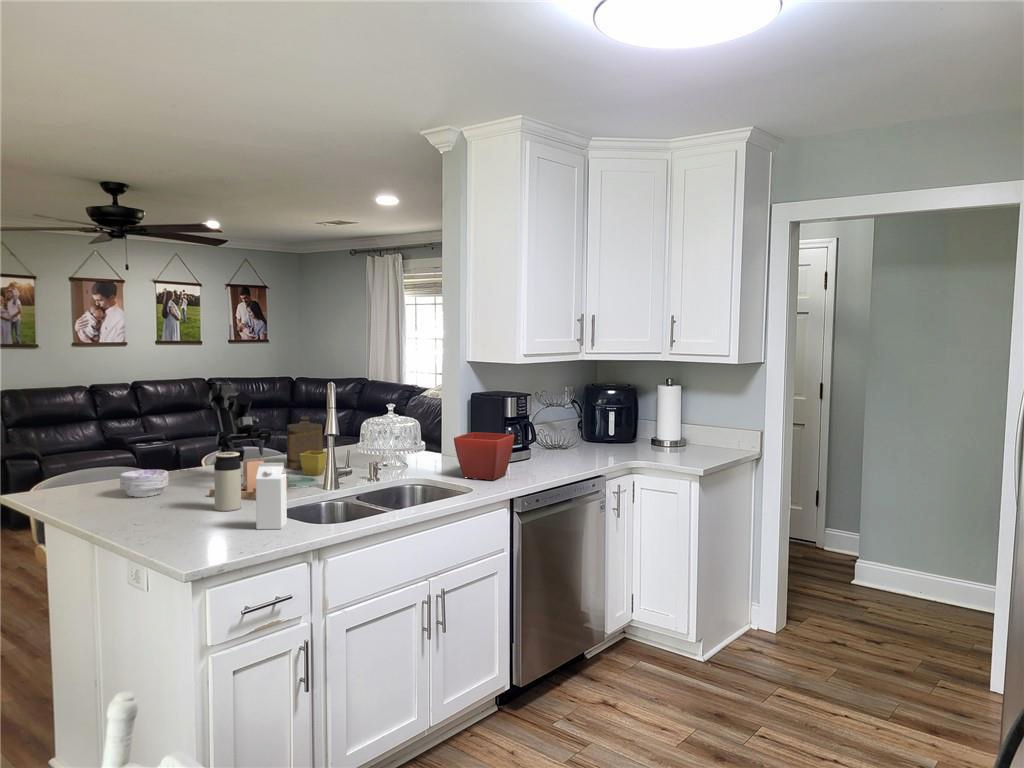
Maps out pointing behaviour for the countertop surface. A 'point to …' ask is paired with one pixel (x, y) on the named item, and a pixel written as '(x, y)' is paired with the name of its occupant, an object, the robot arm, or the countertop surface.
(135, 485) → the paper bowls
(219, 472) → the travel mug
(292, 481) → the saucer
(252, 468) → the long pot
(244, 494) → the brown flat frame
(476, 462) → the plant pot
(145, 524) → the countertop surface
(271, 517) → the milk carton
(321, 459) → the flower pot
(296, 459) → the wooden container
